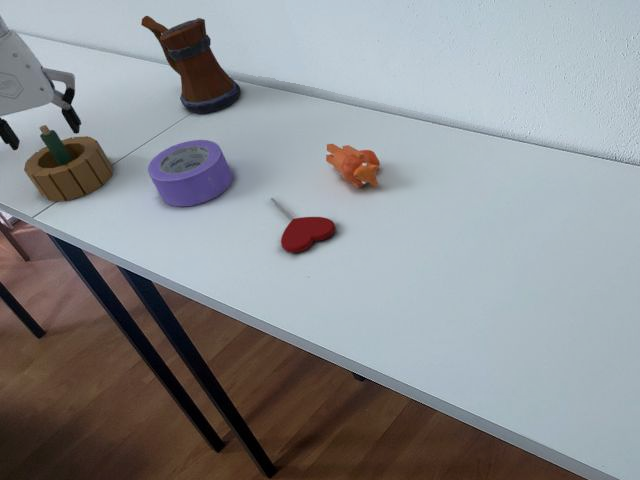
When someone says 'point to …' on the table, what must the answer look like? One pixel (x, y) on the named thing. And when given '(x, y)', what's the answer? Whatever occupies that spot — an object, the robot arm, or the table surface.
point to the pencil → (55, 146)
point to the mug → (195, 65)
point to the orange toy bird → (354, 164)
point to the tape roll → (190, 173)
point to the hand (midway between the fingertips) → (47, 137)
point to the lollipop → (305, 231)
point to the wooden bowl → (70, 170)
